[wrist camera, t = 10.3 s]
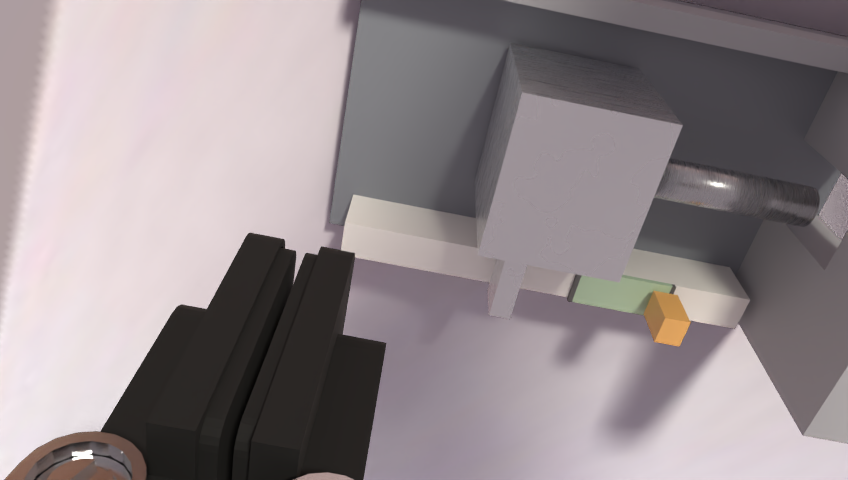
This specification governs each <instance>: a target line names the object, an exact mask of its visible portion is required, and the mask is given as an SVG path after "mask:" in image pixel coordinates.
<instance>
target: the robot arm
mask: <svg viewBox="0 0 848 480" xmlns="http://www.w3.org/2000/svg"><path fill="white" fill-rule="evenodd" d="M354 260H355V253H353V252H347V251H342V250H337V249H332V248H327V247H321V248H320V250H319V253H318V255H315V254H309V253H306V254H305V256H304V258H303V261H302V264H301V266H300V269H299V271H298V274H297V276H296V279H295V282H294V284H293V281H294V272H295V263H296V251H294V250H289V249H285V240H284V239H280V238H275V237H270V236H264V235H259V234H254V233H248V235H247V236H246V238H245V240H244V242H243V243H242V245H241V247H240V249H239V251H238V253H237V255H236V256H235V258H234V260H233V262H232V264H231V266H230V267H229V269H228V271H227V273H226V275H225V277H224V279H223V280H222V282H221V284H220V286H219V288H218V290H217V292H216V293H215V295H214V297H213V299H212V301H211V303H210V304H209V306H208V308H207V309H202V308H197V307H192V306H186V305H179V306H178V307H177V308H176V309H175V310H174V311H173V313H172V314H171V316H170V318H169V319H168V321H167V323H166V324H165V326H164V328H163V329H162V331H161V332H160V334H159V336H158V337H157V339H156V341H155V342H154V344H153V346H152V347H151V349H150V351H149V352H148V354H147V356H146V357H145V359H144V361H143V362H142V364H141V366H140V367H139V369H138V370H137V372H136V374H135V375H134V377H133V379H132V380H131V382H130V384H129V385H128V387H127V389H126V390H125V392H124V394H123V395H122V397H121V399H120V400H119V402H118V404H117V405H116V407H115V408H114V410H113V412H112V413H111V415H110V417H109V418H108V420H107V422H106V423H105V425H104V427H103V428H102V430H101V432H98V431H94V432H78V433H73V434H70V435H66V436H62V437H59V438H56V439H54V440H52V441H50V442H48V443H46V444H44V445H42V446H40V447H38V448H36V449H35V450H34V451H33V452H32V453H31V454H29V455H28V456H27V457H26V458H25V459H23V460H22V461H21V462H20V463H19V464H18V465H17V466H16V467H15V469H14V470H13V471H12V472H11V473H10V474H9V475H8V476H7V477H6V478H5V479H4V480H363V478H364V472H365V466H366V460H367V454H368V448H369V442H370V436H371V430H372V425H373V419H374V413H375V407H376V401H377V395H378V389H379V383H380V377H381V372H382V366H383V360H384V354H385V348H386V343H384V342H378V341H373V340H368V339H362V338H357V337H352V336H346V335H342V334H343V328H344V322H345V316H346V310H347V303H348V297H349V291H350V285H351V279H352V273H353V267H354Z"/></svg>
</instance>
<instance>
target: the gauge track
mask: <svg viewBox="0 0 848 480" xmlns="http://www.w3.org/2000/svg"><path fill="white" fill-rule="evenodd" d="M510 43H515V44H520V45H525V46H530V47H534V48H539V49H544V50H549V51H553V52H558V53H563V54H568V55H573V56H577V57H582V58H587V59H592V60H597V61H601V62H606V63H611V64H616V65H621V66H625V67H630V68H635V69H640V70H641V71H642V73H643V74H644V75H645V77H646V78H647V79H648V80H649V82H650V83H651V84H652V86H653V87H654V88H655V90H656V91H657V92H658V94H659V95H660V96H661V97H662V99H663V100H664V101H665V103H666V104H667V105H668V107H669V108H670V109H671V110H672V112H673V113H674V114H675V116H676V117H677V118H678V120H679V121H680V122H681V123H682V125H683V126H682V129H681V131H680V134H679V136H678V139H677V141H676V144H675V146H674V149H673V151H672V154H671V156H670V158H673V159H678V160H683V161H688V162H693V163H698V164H702V165H707V166H712V167H717V168H722V169H727V170H732V171H737V172H742V173H747V174H752V175H757V176H762V177H767V178H772V179H777V180H782V181H787V182H792V183H797V184H802V185H807V186H812V187H815V188H816V189H817V191H818V193H819V197H820V204H819V209H818V212H817V214H816V216H815V218H814V220H813V221H812V222H811V223H810V224H809V225H807V226H805V227H799V226H794V225H789V224H784V223H779V222H774V221H769V220H764V219H759V218H754V217H749V216H744V215H739V214H734V213H729V212H724V211H719V210H714V209H708V208H703V207H698V206H693V205H688V204H683V203H678V202H673V201H668V200H663V199H658V198H653V201H652V203H651V206H650V208H649V211H648V213H647V216H646V218H645V221H644V223H643V226H642V228H641V231H640V233H639V235H638V238H637V240H636V243H635V245H634V248H633V250H632V253H631V255H630V258H629V260H628V263H627V265H626V268H625V270H624V273H623V275H622V278H621V280H620V283H619V282H614V281H609V280H603V279H598V278H593V277H587V276H582V275H577V274H572V273H566V272H561V271H556V270H551V269H545V268H540V267H535V266H530V265H527V268H526V271H525V274H524V277H523V280H522V283H521V286H520V289H525V290H531V291H536V292H541V293H546V294H552V295H557V296H562V297H567V300H568V301H569V302H575V303H580V304H586V305H591V306H596V307H602V308H607V309H612V310H618V311H623V312H628V313H633V314H639V315H644V312H645V309H646V307H647V305H648V302H649V300H650V298H651V296H652V293H653V291H659V292H664V293H669V294H674V295H678V297H679V299H680V301H681V303H682V305H683V307H684V309H685V311H686V314H687V316H688V318H689V320H690V321H695V322H701V323H706V324H711V325H717V326H722V327H727V328H733V329H735V328H736V326H737V324H738V323H739V325H740V326H741V328H742V330H743V332H744V333H745V335H746V337H747V339H748V340H749V342H750V344H751V346H752V347H753V349H754V351H755V353H756V355H757V356H758V358H759V360H760V362H761V363H762V365H763V367H764V369H765V370H766V372H767V374H768V376H769V377H770V379H771V381H772V383H773V384H774V386H775V388H776V390H777V391H778V393H779V395H780V397H781V398H782V400H783V402H784V404H785V405H786V407H787V409H788V411H789V412H790V414H791V416H792V418H793V419H794V421H795V423H796V425H797V426H798V428H799V430H800V432H801V433H802V435H803V436H808V437H813V438H819V439H824V440H830V441H836V442H841V443H847V444H848V231H847V232H846V234H845V236H844V238H843V239H842V240H841V239H840V238H839V237H838V236H837V235H836V234H835V233H834V232H833V231H832V230H831V229H830V228H829V226H828V225H827V224H826V223H825V222H824V221H823V220H822V219H821V218H820V217H819V216H818V215H819V213H820V211H821V209H822V207H823V206H824V204H825V202H826V200H827V198H828V196H829V195H830V193H831V191H832V189H833V187H834V185H835V183H836V182H837V180H838V178H839V176H840V174H841V173H842V174H843V175H844V176H845V177H846V178H848V37H846V36H841V35H836V34H832V33H827V32H823V31H818V30H813V29H809V28H804V27H799V26H795V25H790V24H785V23H781V22H776V21H771V20H767V19H762V18H757V17H753V16H748V15H744V14H739V13H734V12H730V11H725V10H720V9H716V8H711V7H706V6H702V5H697V4H692V3H688V2H683V1H679V0H361V6H360V13H359V20H358V27H357V34H356V41H355V48H354V55H353V61H352V68H351V75H350V82H349V89H348V96H347V103H346V110H345V117H344V124H343V131H342V138H341V145H340V152H339V158H338V165H337V172H336V179H335V186H334V193H333V200H332V207H331V214H330V221H329V223H332V224H338V225H343V226H344V232H343V238H342V245H341V250H342V251H347V252H353V253H355V258H360V259H366V260H371V261H376V262H382V263H387V264H392V265H398V266H403V267H408V268H414V269H419V270H424V271H429V272H435V273H440V274H445V275H451V276H456V277H461V278H467V279H472V280H477V281H483V282H488V283H490V280H491V276H492V273H493V270H494V266H495V263H496V259H493V258H488V257H482V256H478V253H477V230H476V206H475V183H474V182H475V178H476V174H477V170H478V166H479V163H480V159H481V155H482V151H483V147H484V143H485V139H486V135H487V131H488V127H489V123H490V119H491V115H492V112H493V108H494V104H495V100H496V96H497V92H498V88H499V84H500V80H501V76H502V72H503V68H504V65H505V61H506V57H507V53H508V49H509V45H510Z"/></svg>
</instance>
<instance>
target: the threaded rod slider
mask: <svg viewBox="0 0 848 480" xmlns="http://www.w3.org/2000/svg"><path fill="white" fill-rule="evenodd" d="M682 126H683V125H682V123H681V122H680V121H679V120H678V118H677V117H676V116H675V114H674V113H673V112H672V110H671V109H670V108H669V107H668V105H667V104H666V103H665V101H664V100H663V99H662V97H661V96H660V95H659V94H658V92H657V91H656V90H655V88H654V87H653V86H652V84H651V83H650V82H649V80H648V79H647V78H646V77H645V75H644V74H643V73H642V71H641V70H640V69H635V68H630V67H625V66H621V65H616V64H611V63H606V62H601V61H597V60H592V59H587V58H582V57H577V56H573V55H568V54H563V53H558V52H553V51H549V50H544V49H539V48H534V47H530V46H525V45H520V44H515V43H510V45H509V49H508V53H507V57H506V61H505V65H504V68H503V72H502V76H501V80H500V84H499V88H498V92H497V96H496V100H495V104H494V108H493V112H492V115H491V119H490V123H489V127H488V131H487V135H486V139H485V143H484V147H483V151H482V155H481V159H480V163H479V166H478V170H477V174H476V178H475V182H474V183H475V206H476V230H477V253H478V256H482V257H488V258H493V259H496V263H495V266H494V270H493V273H492V276H491V280H490V283H489V287H488V290H487V294H488V311H489V316H495V317H500V318H505V319H510V318H511V315H512V312H513V308H514V305H515V302H516V299H517V296H518V293H519V290H520V286H521V283H522V280H523V277H524V274H525V271H526V268H527V265H530V266H535V267H540V268H545V269H551V270H556V271H561V272H566V273H572V274H577V275H582V276H587V277H593V278H598V279H603V280H609V281H614V282H619V283H620V280H621V278H622V275H623V273H624V270H625V268H626V265H627V263H628V260H629V258H630V255H631V253H632V250H633V248H634V245H635V243H636V240H637V238H638V235H639V233H640V231H641V228H642V226H643V223H644V221H645V218H646V216H647V213H648V211H649V208H650V206H651V203H652V201H653V198H658V199H663V200H668V201H673V202H678V203H683V204H688V205H693V206H698V207H703V208H708V209H714V210H719V211H724V212H729V213H734V214H739V215H744V216H749V217H754V218H759V219H764V220H769V221H774V222H779V223H784V224H789V225H794V226H799V227H805V226H807V225H809V224H810V223H811V222H812V221H813V220H814V218H815V216H816V214H817V212H818V209H819V204H820V197H819V193H818V191H817V189H816V188H815V187H812V186H807V185H802V184H797V183H792V182H787V181H782V180H777V179H772V178H767V177H762V176H757V175H752V174H747V173H742V172H737V171H732V170H727V169H722V168H717V167H712V166H707V165H702V164H698V163H693V162H688V161H683V160H678V159H673V158H670V156H671V154H672V151H673V149H674V146H675V144H676V141H677V139H678V136H679V134H680V131H681V129H682Z"/></svg>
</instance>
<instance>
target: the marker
mask: <svg viewBox="0 0 848 480" xmlns="http://www.w3.org/2000/svg"><path fill="white" fill-rule="evenodd" d="M644 316H645V319H646V321H647V324H648V327H649V329H650V332H651V335H652V337H653V340H654V342H657V343H663V344H668V345H674V346H680V344H681V342H682V340H683V338H684V336H685V334H686V332H687V330H688V327H689V325H690V323H691V322H690V320H689V318H688V316H687V314H686V311H685V309H684V307H683V305H682V303H681V301H680V299H679V297H678V295H674V294H669V293H664V292H659V291H653V293H652V296H651V298H650V300H649V302H648V305H647V307H646V309H645V312H644Z"/></svg>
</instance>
